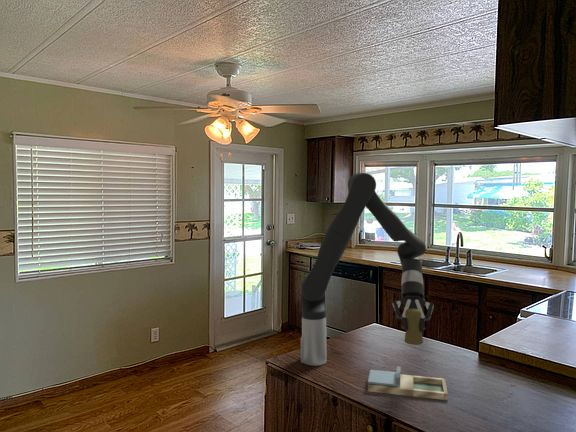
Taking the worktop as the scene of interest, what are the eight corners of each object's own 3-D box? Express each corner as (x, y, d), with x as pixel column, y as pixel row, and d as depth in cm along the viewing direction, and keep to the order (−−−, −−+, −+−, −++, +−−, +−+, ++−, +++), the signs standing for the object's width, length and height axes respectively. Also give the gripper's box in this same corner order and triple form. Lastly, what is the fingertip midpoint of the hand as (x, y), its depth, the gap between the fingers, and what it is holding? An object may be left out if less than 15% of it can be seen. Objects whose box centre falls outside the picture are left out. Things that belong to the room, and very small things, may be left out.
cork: (424, 345, 137) (423, 311, 137) (405, 344, 139) (404, 311, 138) (422, 338, 143) (421, 306, 143) (403, 338, 145) (403, 306, 144)
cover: (367, 383, 136) (367, 375, 135) (370, 371, 145) (370, 363, 145) (399, 386, 133) (399, 378, 133) (400, 374, 142) (400, 366, 142)
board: (367, 391, 135) (367, 385, 135) (371, 377, 145) (370, 371, 145) (447, 400, 128) (447, 393, 128) (444, 384, 139) (444, 378, 139)
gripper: (391, 279, 149) (391, 323, 138) (434, 280, 145) (437, 326, 134) (391, 291, 154) (391, 334, 143) (433, 292, 151) (435, 336, 140)
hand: (413, 329), depth 139 cm, fingers closed on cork, 4 cm apart
